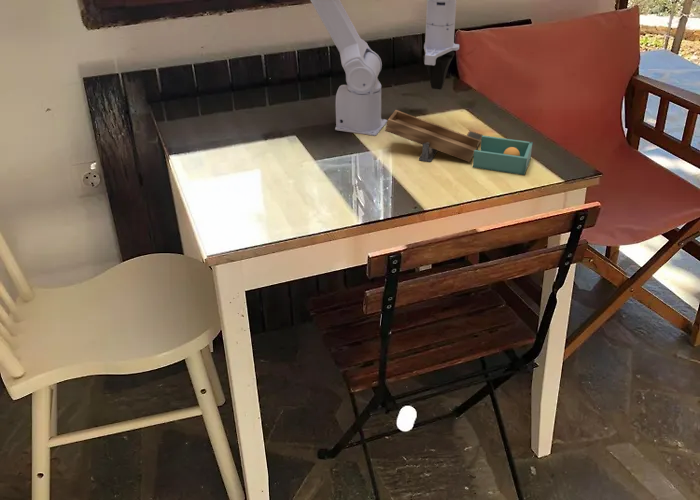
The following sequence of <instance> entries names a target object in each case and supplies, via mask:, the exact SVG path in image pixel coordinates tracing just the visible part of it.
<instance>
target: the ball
mask: <svg viewBox="0 0 700 500" xmlns="http://www.w3.org/2000/svg"><path fill="white" fill-rule="evenodd" d="M503 154H508V155H515V156H520V152H519V150H518V149H517V148H515V147H509V148H507V149H506V150H505V151H504V153H503Z"/></svg>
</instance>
